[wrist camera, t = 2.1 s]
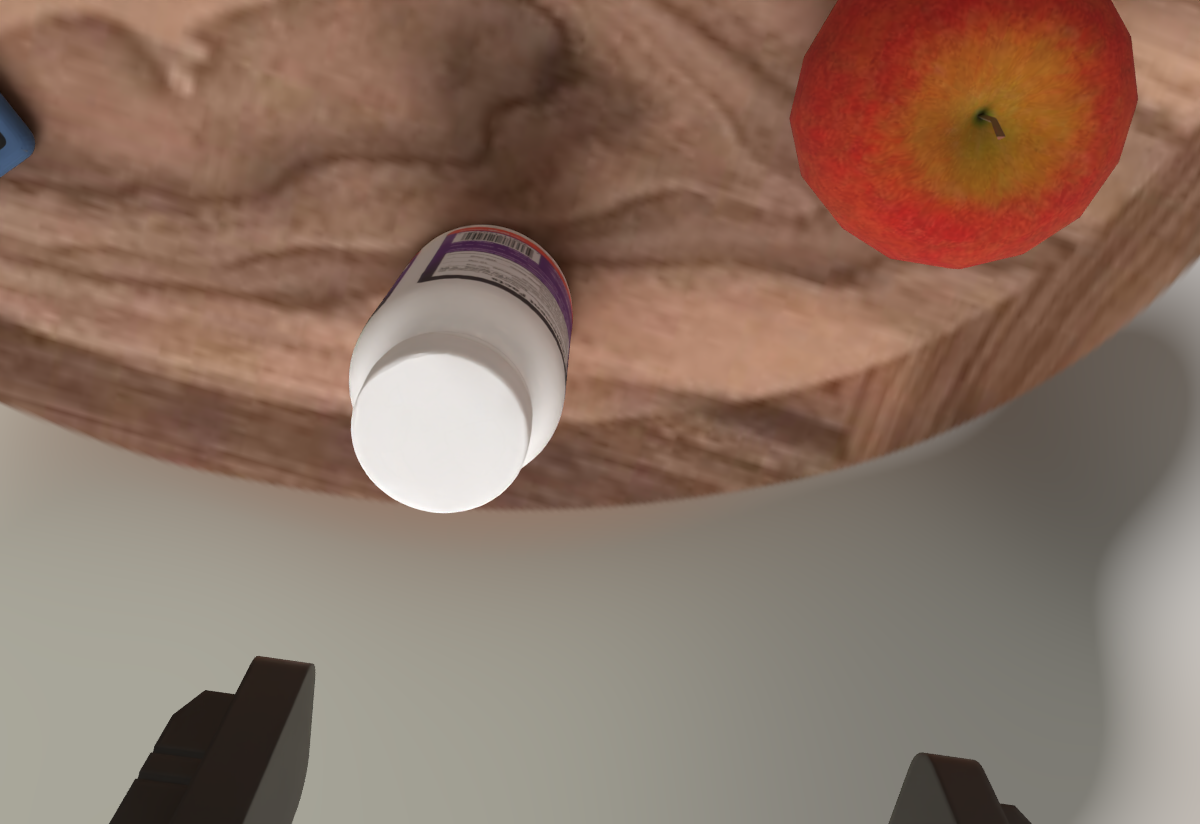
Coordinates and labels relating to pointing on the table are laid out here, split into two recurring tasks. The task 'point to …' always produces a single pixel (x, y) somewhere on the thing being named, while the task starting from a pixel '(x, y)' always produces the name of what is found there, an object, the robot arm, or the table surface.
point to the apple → (963, 121)
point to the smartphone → (13, 138)
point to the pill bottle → (462, 369)
